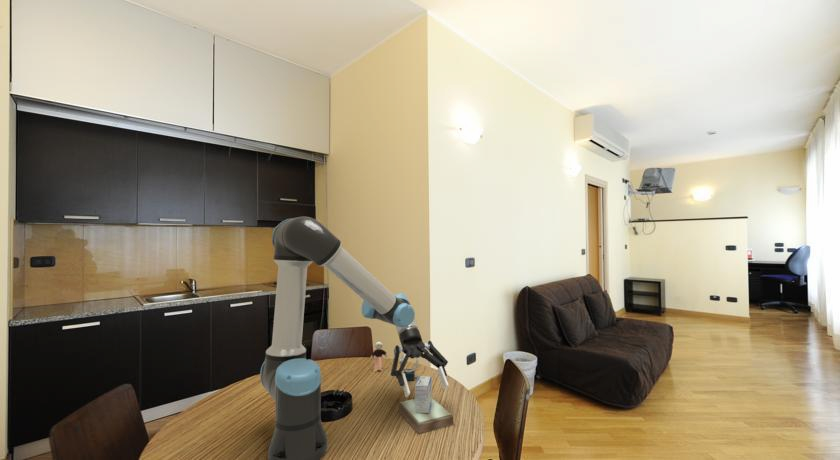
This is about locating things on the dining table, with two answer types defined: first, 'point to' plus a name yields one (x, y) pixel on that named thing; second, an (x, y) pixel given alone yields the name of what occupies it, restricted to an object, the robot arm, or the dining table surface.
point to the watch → (409, 370)
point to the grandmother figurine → (378, 357)
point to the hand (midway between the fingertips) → (427, 391)
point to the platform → (425, 416)
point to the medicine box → (423, 394)
